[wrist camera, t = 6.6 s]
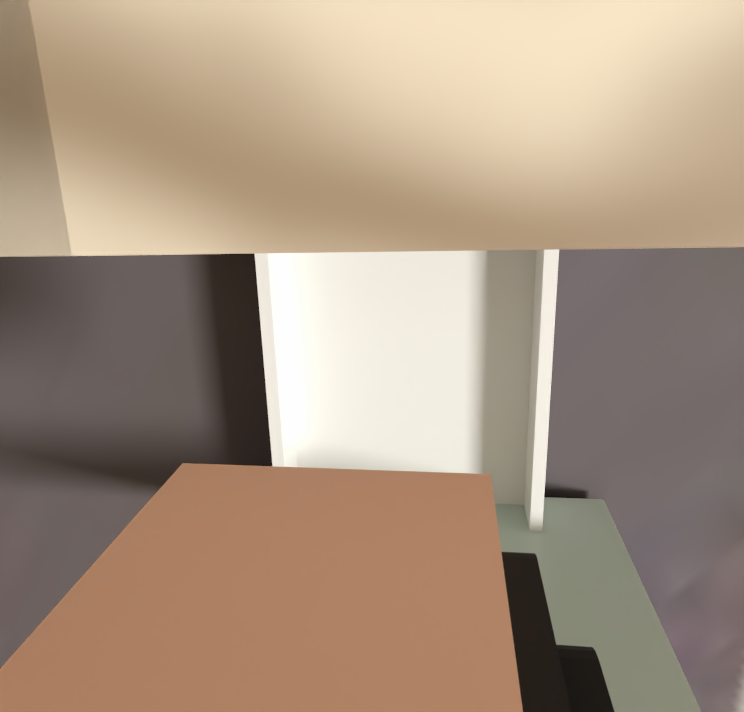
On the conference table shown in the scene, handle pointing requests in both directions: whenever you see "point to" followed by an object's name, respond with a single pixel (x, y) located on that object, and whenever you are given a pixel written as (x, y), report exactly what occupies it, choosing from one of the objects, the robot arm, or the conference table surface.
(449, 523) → the block
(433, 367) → the mint green drawer
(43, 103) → the beige brown striped box
